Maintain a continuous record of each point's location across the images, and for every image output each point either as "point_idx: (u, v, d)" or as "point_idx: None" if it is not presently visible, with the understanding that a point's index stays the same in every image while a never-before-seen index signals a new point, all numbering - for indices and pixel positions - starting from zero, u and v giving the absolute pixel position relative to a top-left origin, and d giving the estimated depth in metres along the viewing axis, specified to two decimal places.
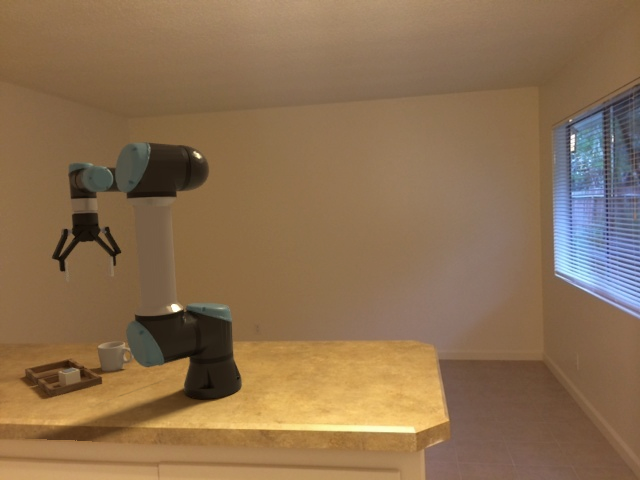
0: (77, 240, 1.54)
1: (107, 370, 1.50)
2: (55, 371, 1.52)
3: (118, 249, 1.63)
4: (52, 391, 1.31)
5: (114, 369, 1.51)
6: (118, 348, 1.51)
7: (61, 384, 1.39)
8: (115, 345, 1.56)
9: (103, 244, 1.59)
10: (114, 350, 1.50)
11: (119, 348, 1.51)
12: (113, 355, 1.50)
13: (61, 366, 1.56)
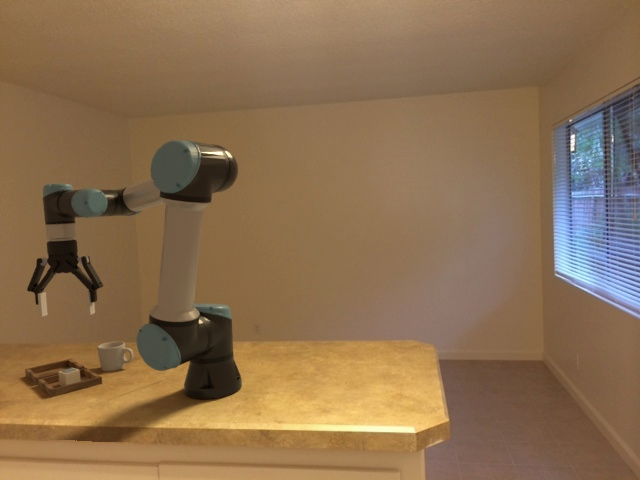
0: (49, 271, 1.37)
1: (107, 370, 1.50)
2: (55, 371, 1.52)
3: (95, 283, 1.37)
4: (52, 391, 1.31)
5: (114, 369, 1.51)
6: (118, 348, 1.51)
7: (61, 384, 1.39)
8: (115, 345, 1.56)
9: (78, 277, 1.37)
10: (114, 350, 1.50)
11: (119, 348, 1.51)
12: (113, 355, 1.50)
13: (61, 366, 1.56)
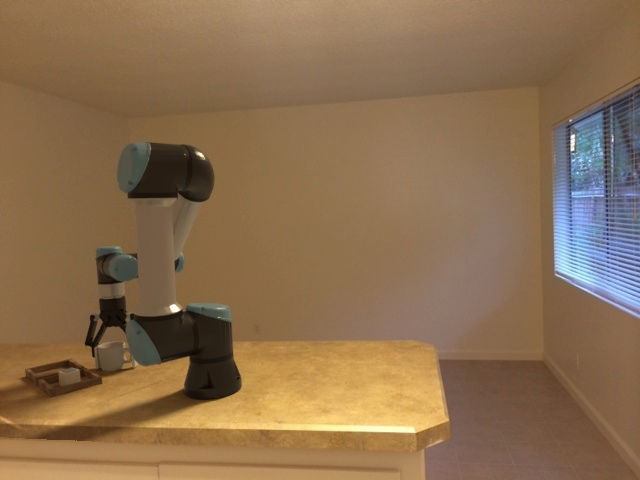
0: (102, 326, 1.51)
1: (107, 370, 1.50)
2: (55, 371, 1.52)
3: None
4: (52, 391, 1.31)
5: (114, 369, 1.51)
6: (118, 348, 1.51)
7: (61, 384, 1.39)
8: (115, 345, 1.56)
9: (125, 332, 1.51)
10: (114, 350, 1.50)
11: (119, 348, 1.51)
12: (113, 355, 1.50)
13: (61, 366, 1.56)
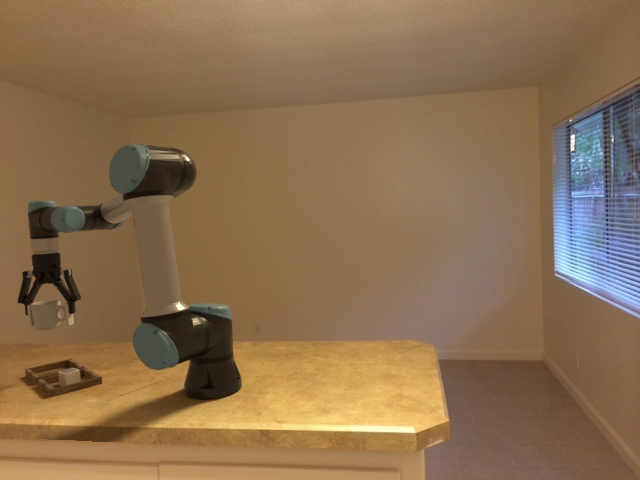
0: (34, 283, 1.46)
1: (40, 328, 1.46)
2: (55, 371, 1.52)
3: (74, 296, 1.47)
4: (52, 391, 1.31)
5: (47, 327, 1.46)
6: (52, 306, 1.46)
7: (61, 384, 1.39)
8: (51, 303, 1.52)
9: (59, 289, 1.47)
10: (47, 307, 1.46)
11: (53, 305, 1.47)
12: (46, 312, 1.46)
13: (61, 366, 1.56)
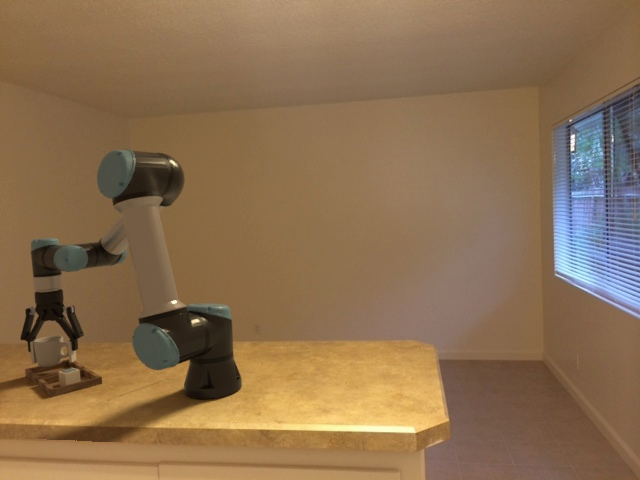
0: (37, 320, 1.47)
1: (43, 365, 1.47)
2: (55, 371, 1.52)
3: (77, 333, 1.48)
4: (52, 391, 1.31)
5: (50, 364, 1.47)
6: (55, 343, 1.47)
7: (61, 384, 1.39)
8: (53, 339, 1.53)
9: (62, 326, 1.48)
10: (50, 344, 1.46)
11: (56, 342, 1.47)
12: (49, 349, 1.46)
13: (61, 366, 1.56)
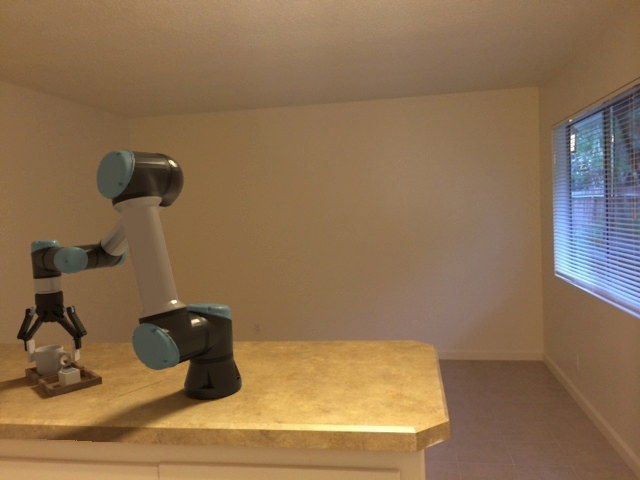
0: (36, 321, 1.47)
1: (43, 374, 1.47)
2: None
3: (80, 332, 1.48)
4: (52, 391, 1.31)
5: (50, 373, 1.47)
6: (55, 352, 1.47)
7: (61, 384, 1.39)
8: (54, 348, 1.53)
9: (64, 326, 1.48)
10: (50, 354, 1.46)
11: (56, 352, 1.48)
12: (49, 359, 1.46)
13: None
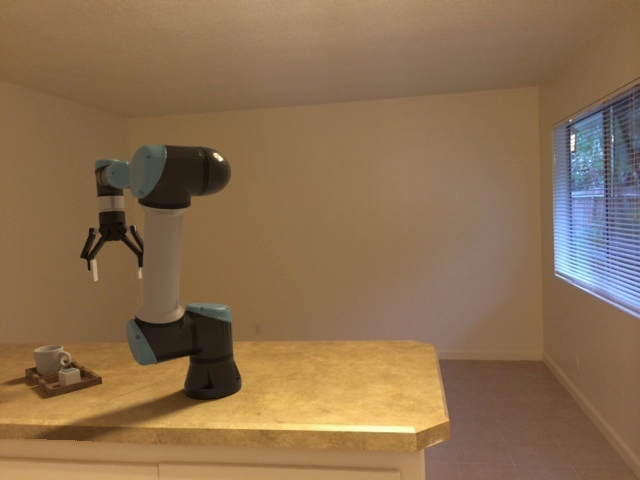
0: (100, 239, 1.50)
1: (43, 374, 1.47)
2: None
3: (143, 250, 1.51)
4: (52, 391, 1.31)
5: (50, 373, 1.47)
6: (55, 352, 1.47)
7: (61, 384, 1.39)
8: (54, 348, 1.53)
9: (127, 244, 1.51)
10: (50, 354, 1.46)
11: (56, 352, 1.48)
12: (49, 359, 1.46)
13: None
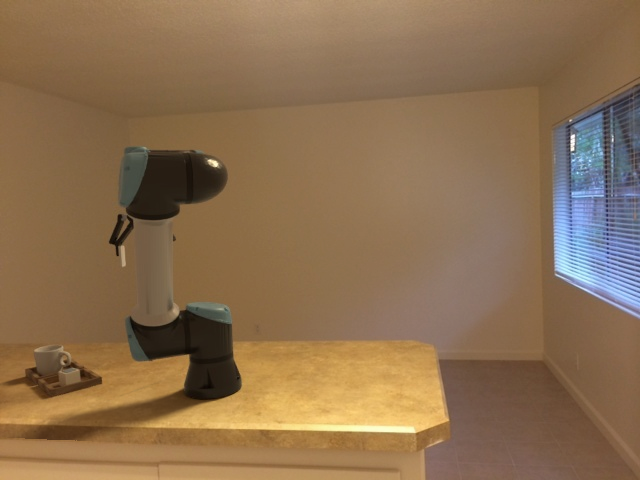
0: (128, 226, 1.52)
1: (43, 374, 1.47)
2: None
3: None
4: (52, 391, 1.31)
5: (50, 373, 1.47)
6: (55, 352, 1.47)
7: (61, 384, 1.39)
8: (54, 348, 1.53)
9: None
10: (50, 354, 1.46)
11: (56, 352, 1.48)
12: (49, 359, 1.46)
13: None
